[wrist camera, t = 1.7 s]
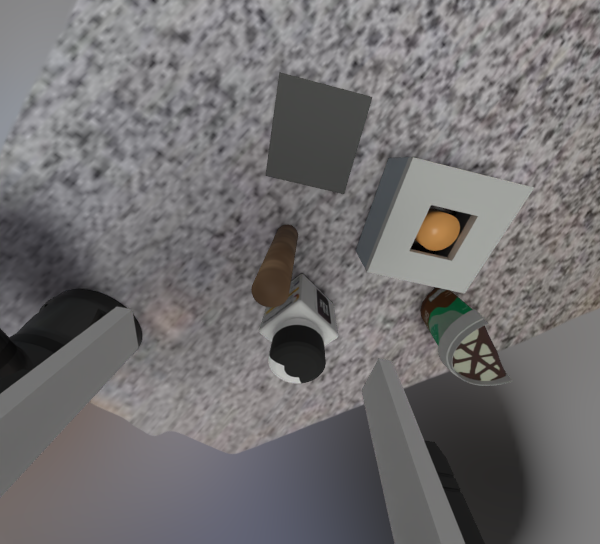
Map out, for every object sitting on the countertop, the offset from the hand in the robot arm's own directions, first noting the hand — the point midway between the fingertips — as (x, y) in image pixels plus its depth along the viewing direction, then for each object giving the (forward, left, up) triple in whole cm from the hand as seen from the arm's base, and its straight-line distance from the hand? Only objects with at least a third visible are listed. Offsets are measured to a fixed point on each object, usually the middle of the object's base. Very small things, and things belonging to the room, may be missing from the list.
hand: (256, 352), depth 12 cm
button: (+16, +6, -18) cm, 24 cm away
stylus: (0, 0, -21) cm, 21 cm away
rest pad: (+1, +12, -21) cm, 24 cm away
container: (+4, -11, -22) cm, 24 cm away
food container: (+26, -8, -22) cm, 34 cm away
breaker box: (+16, +6, -21) cm, 27 cm away
